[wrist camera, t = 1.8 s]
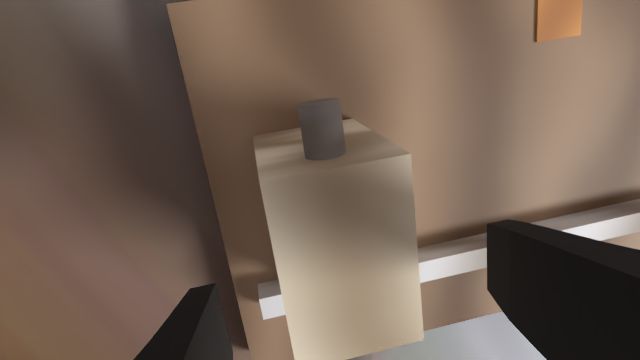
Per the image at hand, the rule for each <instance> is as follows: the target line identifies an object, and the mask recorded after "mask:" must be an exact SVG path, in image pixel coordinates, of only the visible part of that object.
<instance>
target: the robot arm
mask: <svg viewBox="0 0 640 360" xmlns="http://www.w3.org/2000/svg"><path fill="white" fill-rule="evenodd" d="M487 290H488V291H489V293H490V294H491V296H492V297H493V299H494V300H495V301H496V303H497V304H498V306H499V307H500V308H501V310H502V311H503V312H504V314H505V315H506V316H507V318H508V319H509V320H510V321H511V322H512V324H513V325H514V326H515V327H516V328H517V329H518V330H519V331H520V332H521V333H522V334H523V335H524V336H525V337H526V338H527V339H528V341H529V342H530V343H531V344H532V345H533V346H534V347H535V348H536V349H537V350H538V351H539V352H540V353H541V354H542V355H543V356H544V357H545V358H546V359H547V360H640V250H638V249H634V248H629V247H625V246H620V245H616V244H611V243H607V242H603V241H599V240H595V239H591V238H587V237H583V236H579V235H575V234H571V233H567V232H563V231H559V230H555V229H552V228H548V227H544V226H540V225H535V224H531V223H527V222H522V221H516V220H509V219H507V220H502V221H498V222H493V223H488V224H487ZM134 360H233V350H232V347H231V343H230V339H229V335H228V331H227V327H226V323H225V319H224V315H223V312H222V308H221V304H220V300H219V296H218V292H217V288H216V284H215V283H214V284H210V285H205V286H200V287H196V288H191V289H189V291H188V292H187V293H186V294H185V296H184V297H183V298H182V300H181V301H180V302H179V304H178V305H177V306H176V308H175V309H174V310H173V312H172V313H171V314H170V316H169V317H168V318H167V320H166V321H165V322H164V323H163V325H162V326H161V327H160V329H159V330H158V331H157V332H156V334H155V335H154V336H153V338H152V339H151V340H150V341H149V342H148V344H147V345H146V346H145V347H144V348H143V349H142V351H141V352H140V353H139V354H138V355H137V356H136V357H135V359H134Z"/></svg>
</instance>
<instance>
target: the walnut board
mask: <svg viewBox="0 0 640 360" xmlns="http://www.w3.org/2000/svg"><path fill="white" fill-rule="evenodd" d="M166 6H167V10H168V14H169V18H170V22H171V27H172V31H173V35H174V39H175V43H176V47H177V52H178V56H179V60H180V64H181V68H182V72H183V77H184V81H185V85H186V89H187V93H188V97H189V101H190V106H191V110H192V114H193V118H194V122H195V126H196V131H197V135H198V139H199V143H200V147H201V151H202V156H203V160H204V164H205V168H206V172H207V176H208V180H209V185H210V189H211V193H212V197H213V201H214V205H215V210H216V214H217V218H218V222H219V226H220V230H221V235H222V239H223V243H224V247H225V251H226V255H227V259H228V264H229V268H230V272H231V276H232V280H233V284H234V289H235V293H236V297H237V301H238V305H239V309H240V314H241V318H242V322H243V326H244V330H245V334H246V338H247V343H248V347H249V351H250V355H251V359H252V360H295V359H294V354H293V349H292V344H291V339H290V334H289V329H288V324H287V319H286V314H285V309H284V304H283V299H282V294H281V289H280V284H279V279H278V274H277V269H276V264H275V259H274V254H273V249H272V244H271V239H270V233H269V228H268V223H267V218H266V213H265V208H264V203H263V198H262V193H261V188H260V183H259V177H258V170H257V163H256V157H255V150H254V143H253V136H255V135H261V134H267V133H272V132H278V131H284V130H290V129H295V128H300V122H299V115H298V109H297V105H298V104H300V103H303V102H307V101H312V100H318V99H327V98H338V99H340V106H341V114H342V120H347V119H354V120H356V121H357V122H359V123H361V124H362V125H364V126H366V127H367V128H369V129H371V130H372V131H374V132H376V133H377V134H379V135H381V136H382V137H384V138H386V139H387V140H389V141H391V142H392V143H394V144H396V145H397V146H399V147H401V148H402V149H404V150H406V151H407V152H409V153H411V162H412V176H413V190H414V204H415V218H416V232H417V247H418V261H419V275H420V289H421V303H422V317H423V331H425V330H429V329H433V328H437V327H441V326H445V325H449V324H453V323H457V322H461V321H465V320H469V319H473V318H477V317H481V316H485V315H489V314H493V313H497V312H501V311H502V310H501V308H500V307H499V306H498V304H497V303H496V301H495V300H494V299H493V297H492V296H491V294H490V293H489V291H488V290H487V224H488V223H493V222H498V221H502V220H507V219H509V220H516V221H522V222H527V223H531V224H535V225H540V226H544V227H548V228H552V229H555V230H559V231H563V232H567V233H571V234H575V235H579V236H583V237H587V238H591V239H595V240H599V241H603V242H607V243H611V244H616V245H620V246H625V247H629V248H634V249H638V250H640V0H191V1H183V2H176V3H168V4H166Z"/></svg>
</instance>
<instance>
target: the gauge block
mask: <svg viewBox="0 0 640 360" xmlns="http://www.w3.org/2000/svg"><path fill="white" fill-rule="evenodd" d="M297 109H298V115H299V122H300V128H295V129H290V130H284V131H278V132H272V133H267V134H261V135H255V136H253V143H254V150H255V157H256V163H257V170H258V177H259V183H260V188H261V193H262V198H263V203H264V208H265V213H266V218H267V223H268V228H269V233H270V239H271V244H272V249H273V254H274V259H275V264H276V269H277V274H278V279H279V284H280V289H281V294H282V299H283V304H284V309H285V314H286V319H287V324H288V329H289V334H290V339H291V344H292V349H293V354H294V359H295V360H372V357H371V353H374V352H378V351H382V350H386V349H390V348H394V347H398V346H402V345H406V344H410V343H414V342H418V341H422V340H424V331H423V317H422V303H421V289H420V275H419V261H418V247H417V232H416V218H415V204H414V190H413V176H412V162H411V153H409V152H407V151H406V150H404V149H402V148H401V147H399V146H397V145H396V144H394V143H392V142H391V141H389V140H387V139H386V138H384V137H382V136H381V135H379V134H377V133H376V132H374V131H372V130H371V129H369V128H367V127H366V126H364V125H362V124H361V123H359V122H357V121H356V120H354V119H347V120H342V114H341V106H340V99H338V98H327V99H318V100H312V101H307V102H303V103H300V104H298V105H297Z"/></svg>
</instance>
